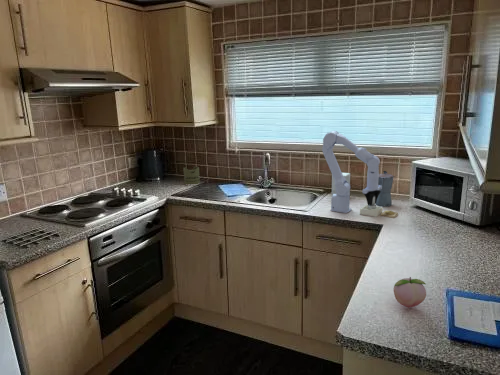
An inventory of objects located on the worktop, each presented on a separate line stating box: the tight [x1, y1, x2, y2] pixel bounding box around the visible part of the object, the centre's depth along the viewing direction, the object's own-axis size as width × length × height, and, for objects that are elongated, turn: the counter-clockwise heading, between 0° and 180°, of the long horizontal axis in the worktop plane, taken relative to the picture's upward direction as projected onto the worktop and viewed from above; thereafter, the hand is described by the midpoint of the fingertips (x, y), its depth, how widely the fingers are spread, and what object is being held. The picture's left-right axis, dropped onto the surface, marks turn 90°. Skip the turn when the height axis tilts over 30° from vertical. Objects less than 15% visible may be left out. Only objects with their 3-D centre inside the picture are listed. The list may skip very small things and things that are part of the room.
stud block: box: [379, 210, 399, 219], centre depth 203 cm, size 7×7×2 cm
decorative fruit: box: [393, 276, 427, 309], centre depth 117 cm, size 9×8×10 cm
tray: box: [359, 204, 384, 218], centre depth 207 cm, size 9×9×3 cm
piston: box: [183, 166, 201, 185], centre depth 286 cm, size 11×12×11 cm
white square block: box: [331, 172, 351, 196], centre depth 238 cm, size 9×9×15 cm
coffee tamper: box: [367, 196, 377, 209], centre depth 205 cm, size 4×4×6 cm
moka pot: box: [375, 170, 395, 208], centre depth 220 cm, size 10×15×20 cm, turn 158°
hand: (371, 204), depth 206 cm, fingers closed on coffee tamper, 3 cm apart
